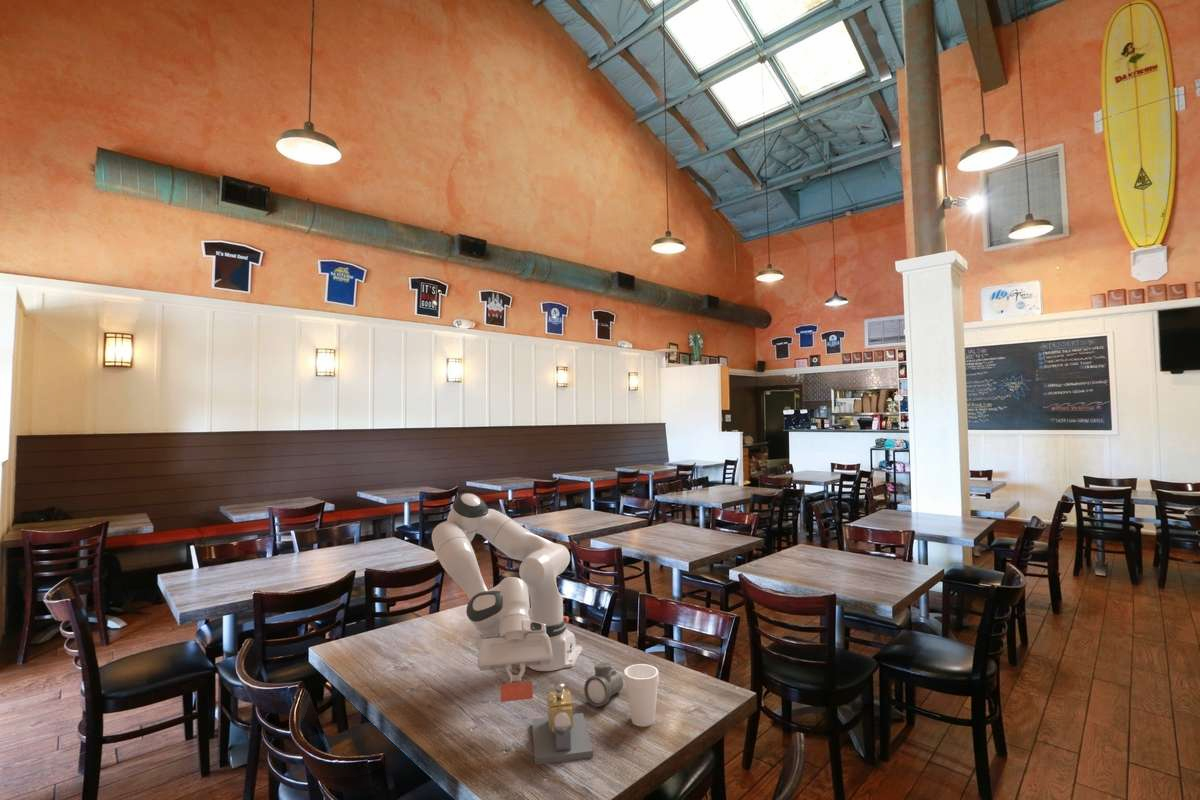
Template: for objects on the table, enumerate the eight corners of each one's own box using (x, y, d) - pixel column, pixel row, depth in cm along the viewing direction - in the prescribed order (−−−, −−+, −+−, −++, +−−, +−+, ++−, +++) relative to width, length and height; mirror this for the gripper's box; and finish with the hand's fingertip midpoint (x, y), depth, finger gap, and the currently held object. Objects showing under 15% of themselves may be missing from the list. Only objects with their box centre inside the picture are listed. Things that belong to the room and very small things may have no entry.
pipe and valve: (568, 716, 147) (567, 674, 148) (575, 750, 132) (574, 703, 132) (547, 719, 146) (546, 677, 147) (551, 753, 131) (550, 706, 131)
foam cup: (632, 732, 141) (630, 681, 142) (621, 714, 150) (619, 667, 151) (665, 725, 144) (663, 675, 145) (652, 708, 153) (651, 662, 154)
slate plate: (583, 718, 149) (583, 712, 149) (592, 757, 131) (592, 750, 131) (532, 724, 147) (532, 718, 147) (535, 764, 129) (534, 758, 129)
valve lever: (564, 689, 141) (564, 677, 141) (565, 694, 138) (565, 682, 139) (500, 696, 139) (500, 684, 139) (500, 702, 136) (500, 689, 136)
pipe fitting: (606, 710, 152) (605, 671, 154) (583, 705, 157) (582, 667, 159) (628, 697, 162) (627, 660, 164) (606, 692, 166) (605, 657, 168)
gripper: (476, 630, 149) (475, 682, 139) (550, 623, 152) (554, 674, 142) (478, 640, 153) (476, 692, 143) (550, 634, 157) (553, 684, 146)
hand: (515, 683), depth 143 cm, fingers closed
